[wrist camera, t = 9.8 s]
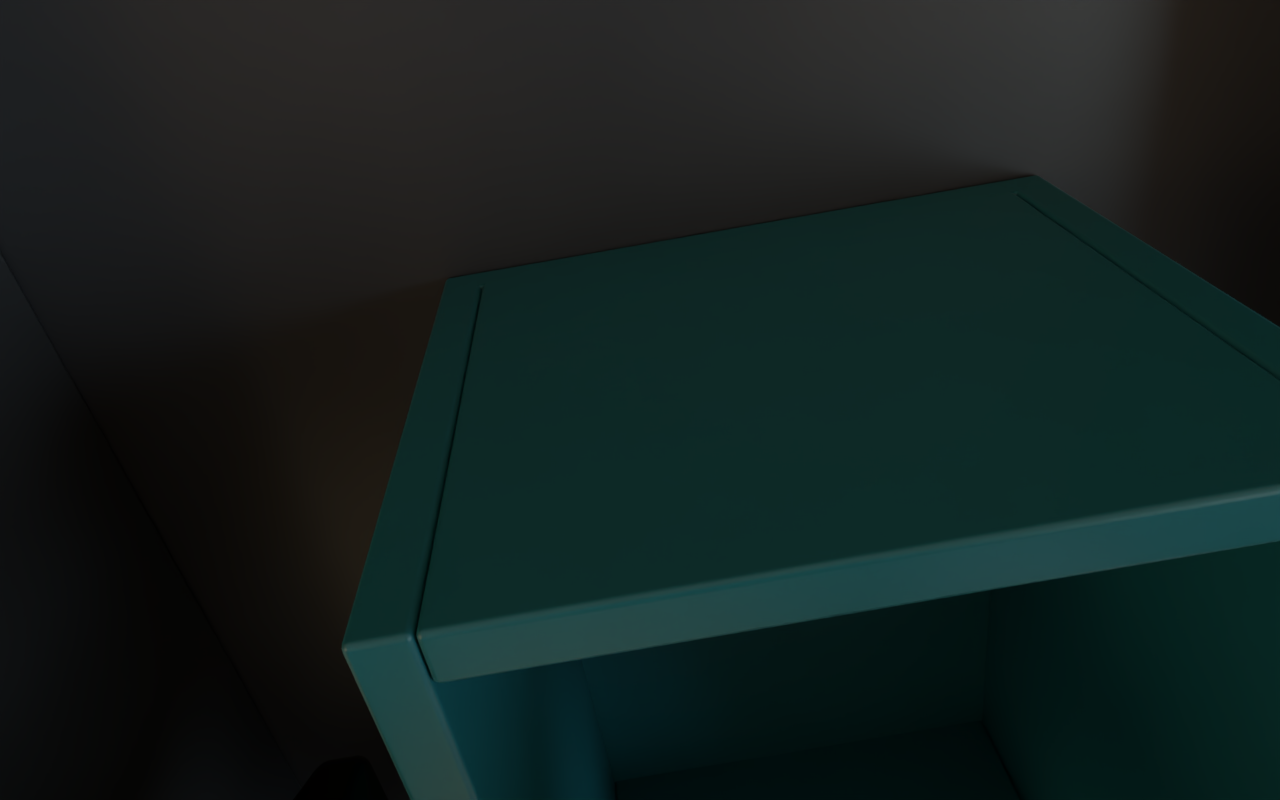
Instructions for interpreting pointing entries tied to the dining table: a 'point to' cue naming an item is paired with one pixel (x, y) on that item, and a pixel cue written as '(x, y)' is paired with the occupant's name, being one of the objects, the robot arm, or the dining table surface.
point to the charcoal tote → (446, 248)
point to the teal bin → (836, 520)
